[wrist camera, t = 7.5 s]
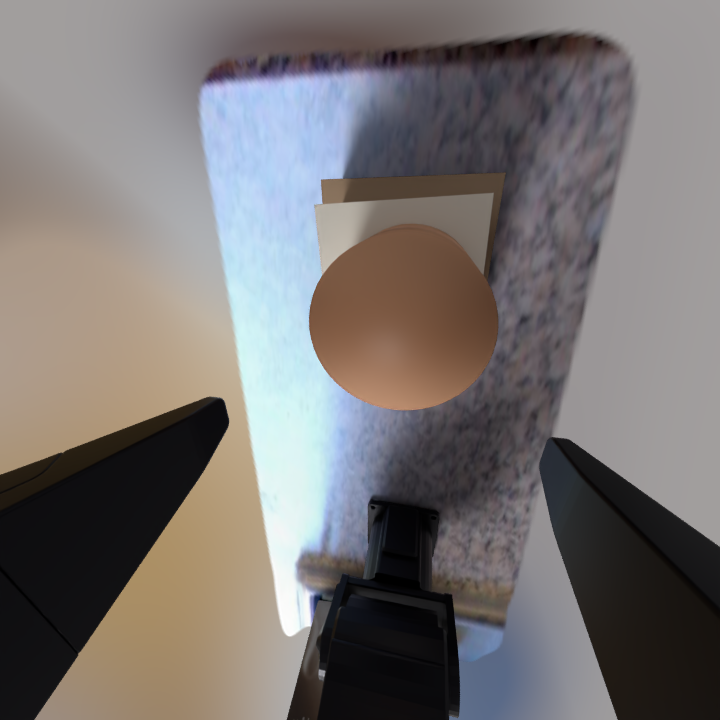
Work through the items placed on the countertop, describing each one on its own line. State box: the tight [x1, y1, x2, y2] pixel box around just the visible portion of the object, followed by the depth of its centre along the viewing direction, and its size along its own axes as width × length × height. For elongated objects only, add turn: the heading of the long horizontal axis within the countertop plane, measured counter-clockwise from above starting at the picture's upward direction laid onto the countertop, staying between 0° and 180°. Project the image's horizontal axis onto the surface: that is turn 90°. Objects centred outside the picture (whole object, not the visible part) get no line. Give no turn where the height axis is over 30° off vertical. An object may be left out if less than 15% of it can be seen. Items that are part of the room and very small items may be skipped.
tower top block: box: [314, 193, 494, 275], centre depth 13 cm, size 6×6×4 cm
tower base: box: [321, 173, 506, 280], centre depth 17 cm, size 8×8×4 cm
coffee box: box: [287, 600, 332, 720], centre depth 33 cm, size 9×6×16 cm
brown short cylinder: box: [309, 224, 498, 410], centre depth 10 cm, size 5×5×4 cm
